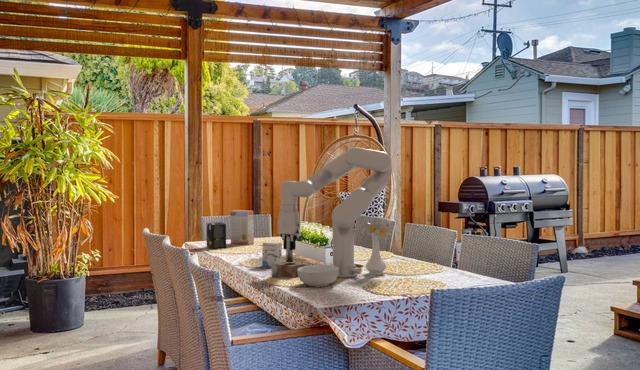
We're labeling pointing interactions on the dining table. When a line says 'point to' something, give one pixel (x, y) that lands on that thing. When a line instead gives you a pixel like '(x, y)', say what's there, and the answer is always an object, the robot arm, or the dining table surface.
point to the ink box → (271, 253)
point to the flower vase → (376, 244)
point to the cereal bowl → (318, 274)
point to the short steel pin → (274, 269)
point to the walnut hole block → (289, 269)
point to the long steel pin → (288, 249)
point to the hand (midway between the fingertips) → (289, 249)
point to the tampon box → (216, 235)
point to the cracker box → (242, 227)
